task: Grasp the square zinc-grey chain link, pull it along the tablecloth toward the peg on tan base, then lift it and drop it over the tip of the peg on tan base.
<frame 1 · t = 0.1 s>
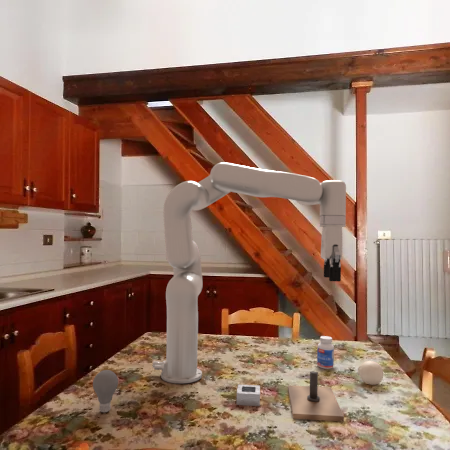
hand: (331, 279, 121), 31 cm above the table, fingers open, 9 cm apart
light bulb: (104, 412, 99), on the table
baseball: (370, 384, 121), on the table
pill bottle: (325, 367, 136), on the table
peg on tan base: (313, 404, 106), on the table
link: (248, 400, 107), on the table
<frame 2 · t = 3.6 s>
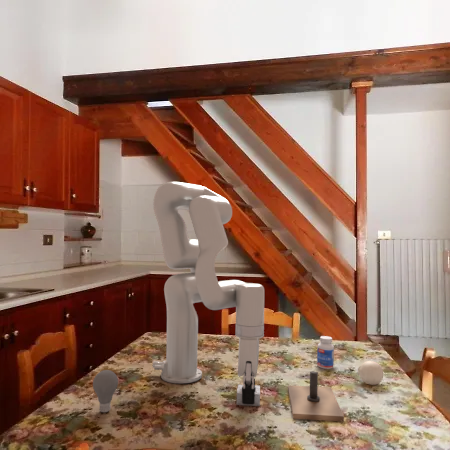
hand: (248, 397, 107), 1 cm above the table, fingers closed on link, 6 cm apart
link: (248, 400, 107), on the table, touching gripper
everything else where it was.
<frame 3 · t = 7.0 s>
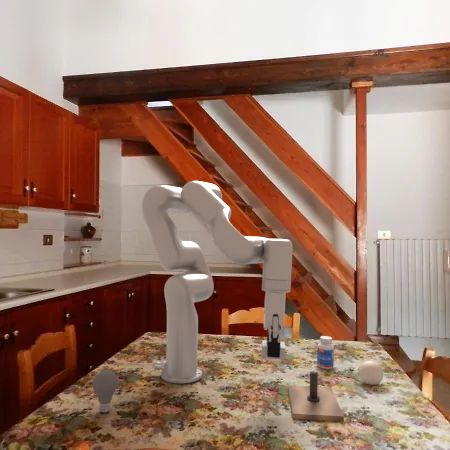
hand: (273, 352, 107), 13 cm above the table, fingers closed on link, 6 cm apart
link: (272, 355, 107), point 12 cm above the table, touching gripper
everything else where it was.
when the fingers open (7 cm above the table, at t = 10.3 s): link drops 5 cm, resting on peg on tan base.
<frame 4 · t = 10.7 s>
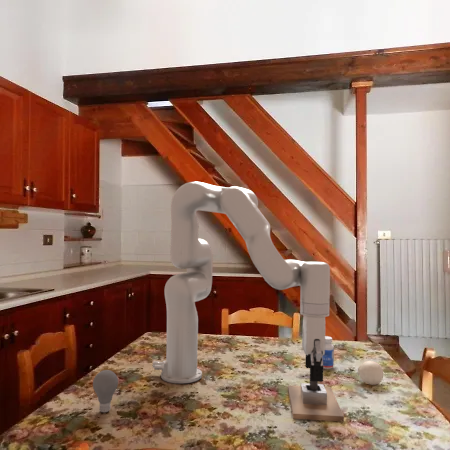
hand: (313, 374, 106), 8 cm above the table, fingers open, 9 cm apart
link: (313, 399, 106), point 1 cm above the table, touching peg on tan base
everything else where it was.
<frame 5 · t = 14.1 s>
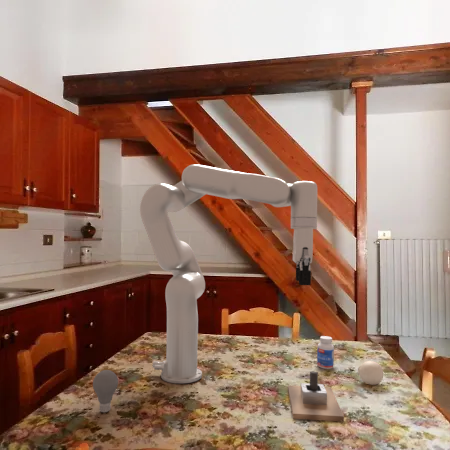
hand: (302, 282, 117), 30 cm above the table, fingers open, 9 cm apart
nothing on the table moved.
at the end: link 0.1 cm off-centre on the peg on tan base, point 1.2 cm above the peg on tan base's base; the gripper is holding nothing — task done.
